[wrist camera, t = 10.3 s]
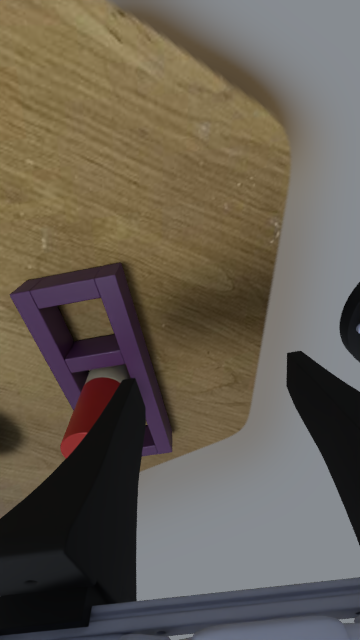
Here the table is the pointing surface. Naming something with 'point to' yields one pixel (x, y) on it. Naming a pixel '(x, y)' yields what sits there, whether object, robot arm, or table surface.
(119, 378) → the cream token
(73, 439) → the cylinder
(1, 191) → the table surface
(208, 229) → the table surface
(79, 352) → the board
